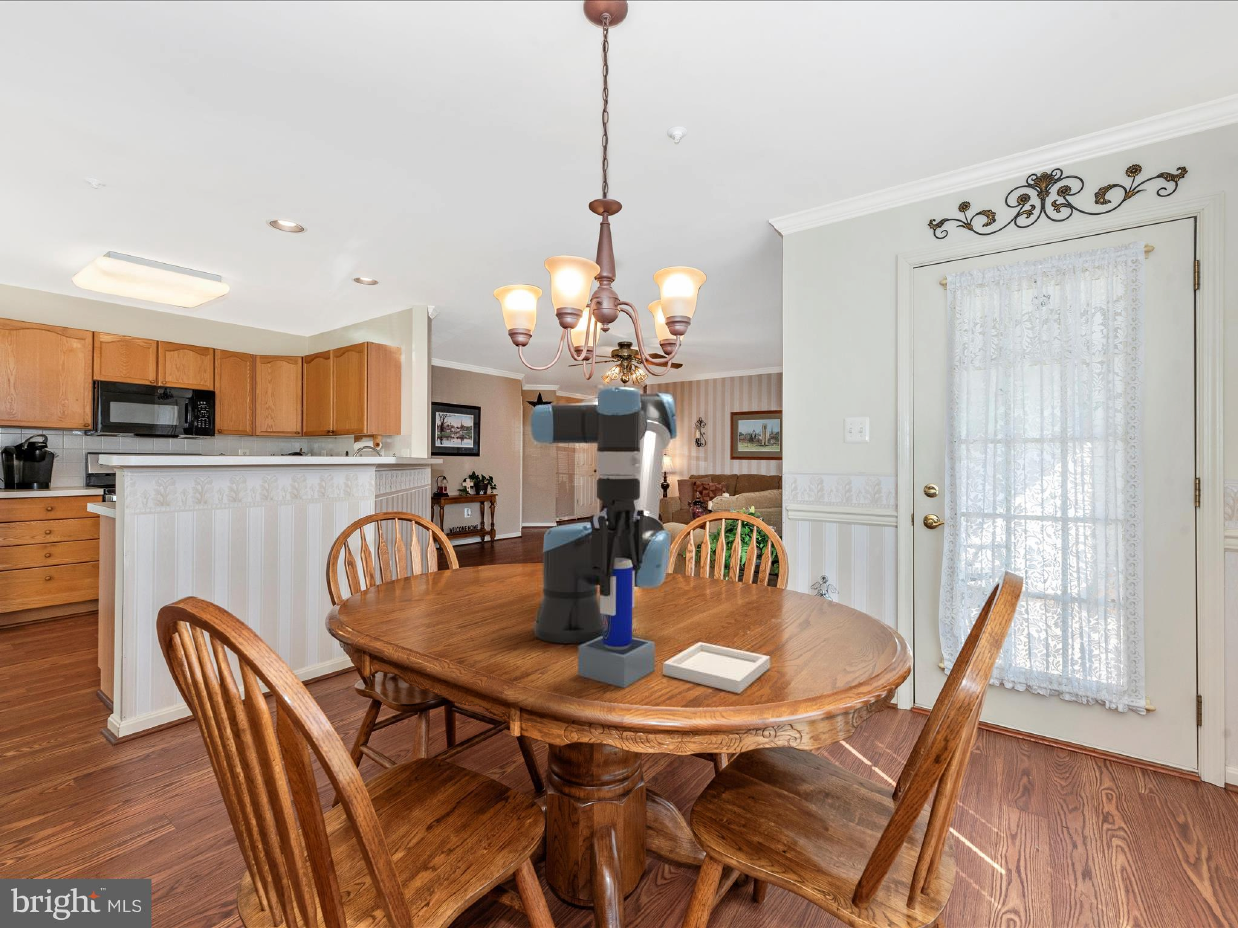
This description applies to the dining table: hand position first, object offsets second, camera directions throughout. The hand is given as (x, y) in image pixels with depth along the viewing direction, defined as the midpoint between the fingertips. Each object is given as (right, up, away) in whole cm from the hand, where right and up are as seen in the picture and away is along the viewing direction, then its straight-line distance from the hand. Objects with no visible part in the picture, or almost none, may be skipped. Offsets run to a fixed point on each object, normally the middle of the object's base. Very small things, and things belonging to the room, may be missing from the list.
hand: (617, 609), depth 100 cm
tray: (+18, -11, +1) cm, 21 cm away
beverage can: (0, -6, 0) cm, 6 cm away
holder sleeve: (0, -11, 0) cm, 11 cm away
